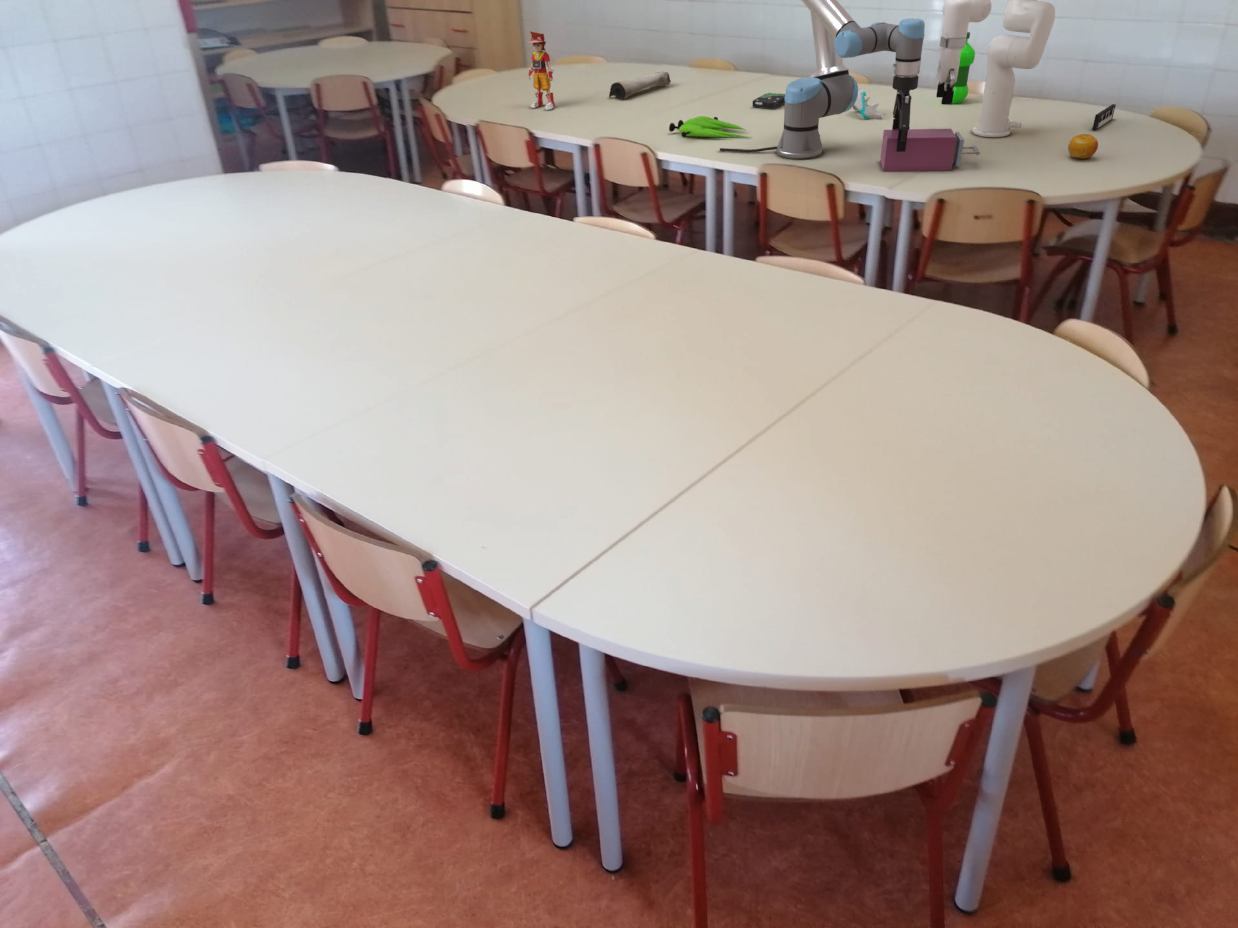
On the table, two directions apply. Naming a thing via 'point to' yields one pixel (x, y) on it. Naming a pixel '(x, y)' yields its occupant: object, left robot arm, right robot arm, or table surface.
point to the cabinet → (919, 150)
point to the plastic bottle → (963, 72)
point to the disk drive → (769, 100)
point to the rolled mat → (638, 84)
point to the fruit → (1082, 146)
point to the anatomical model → (865, 106)
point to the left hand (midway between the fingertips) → (898, 145)
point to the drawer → (960, 147)
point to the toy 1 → (541, 71)
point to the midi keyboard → (1103, 116)
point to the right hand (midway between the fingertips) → (943, 100)
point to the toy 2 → (705, 127)
